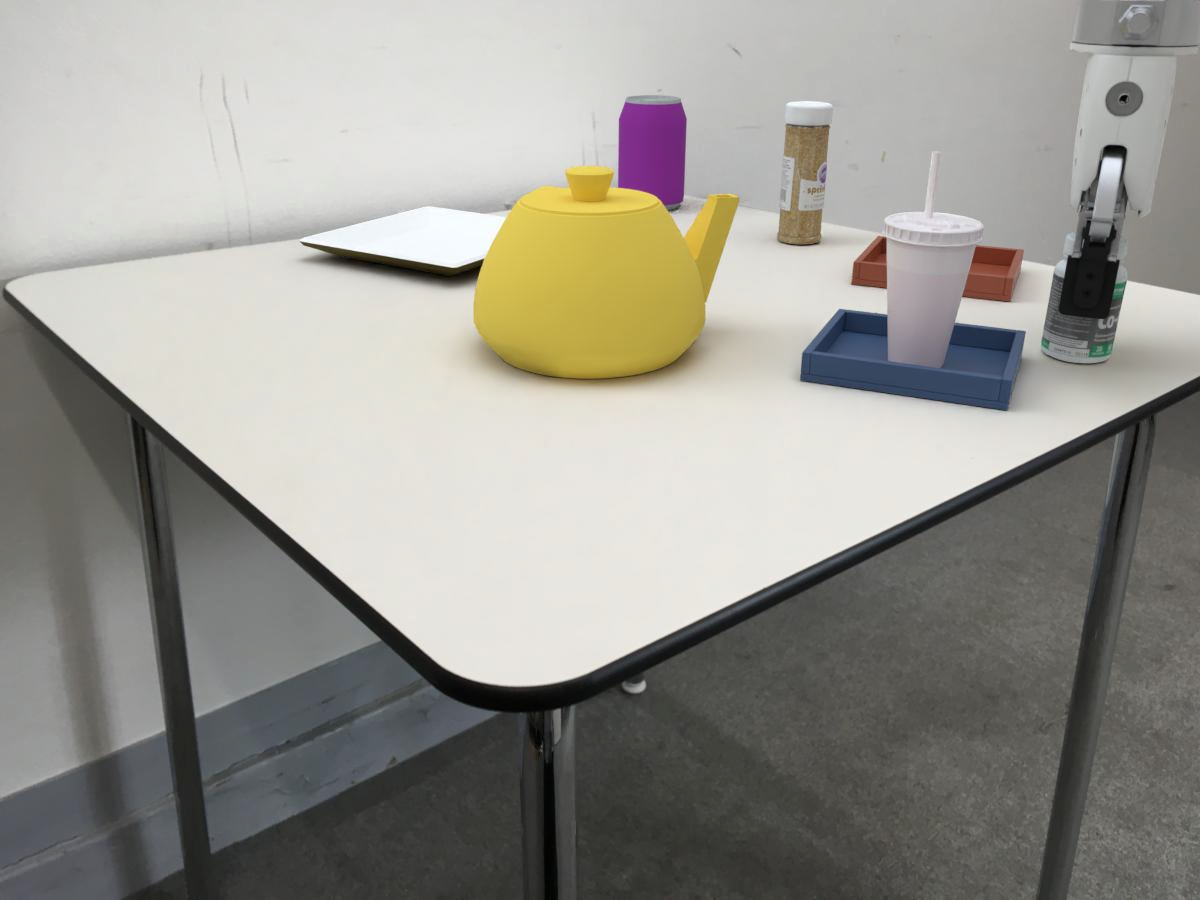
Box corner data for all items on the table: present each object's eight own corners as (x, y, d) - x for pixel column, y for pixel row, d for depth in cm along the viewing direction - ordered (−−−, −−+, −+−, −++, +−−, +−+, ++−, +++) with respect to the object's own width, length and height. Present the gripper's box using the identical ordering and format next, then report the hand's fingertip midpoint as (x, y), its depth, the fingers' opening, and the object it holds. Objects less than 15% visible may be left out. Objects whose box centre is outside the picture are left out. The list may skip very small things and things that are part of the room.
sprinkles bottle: (818, 247, 108) (830, 106, 103) (772, 243, 109) (782, 104, 104) (823, 237, 112) (836, 101, 107) (779, 234, 113) (789, 99, 108)
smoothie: (920, 342, 79) (946, 143, 73) (984, 369, 74) (1017, 157, 68) (848, 354, 76) (869, 149, 71) (910, 383, 71) (938, 164, 65)
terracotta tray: (1020, 271, 100) (1024, 249, 99) (1009, 301, 91) (1013, 278, 90) (875, 256, 105) (877, 235, 104) (851, 284, 96) (853, 261, 95)
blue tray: (1021, 357, 78) (1025, 330, 77) (1007, 410, 68) (1012, 380, 67) (836, 333, 82) (839, 308, 82) (799, 380, 73) (802, 352, 72)
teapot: (525, 401, 69) (520, 198, 64) (435, 321, 85) (425, 153, 80) (789, 358, 77) (804, 174, 72) (662, 293, 93) (667, 138, 87)
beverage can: (688, 201, 129) (692, 95, 124) (677, 214, 122) (681, 102, 118) (625, 198, 131) (626, 93, 126) (611, 210, 124) (612, 100, 119)
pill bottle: (1095, 370, 75) (1119, 248, 72) (1028, 354, 78) (1048, 237, 75) (1121, 353, 78) (1145, 237, 75) (1055, 339, 81) (1075, 226, 78)
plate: (299, 260, 102) (296, 238, 101) (428, 224, 117) (427, 205, 116) (456, 289, 93) (454, 265, 92) (574, 246, 108) (574, 225, 107)
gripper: (1211, 36, 61) (1144, 347, 68) (1194, 24, 75) (1140, 282, 83) (1067, 33, 64) (1017, 332, 71) (1077, 22, 78) (1035, 272, 85)
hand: (1084, 302), depth 77 cm, fingers closed on pill bottle, 4 cm apart
